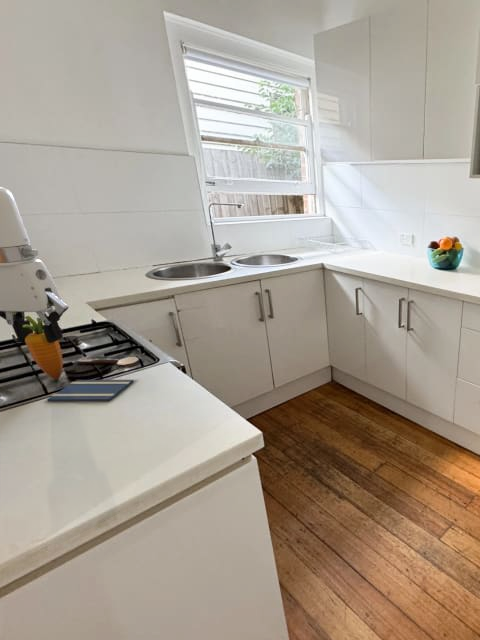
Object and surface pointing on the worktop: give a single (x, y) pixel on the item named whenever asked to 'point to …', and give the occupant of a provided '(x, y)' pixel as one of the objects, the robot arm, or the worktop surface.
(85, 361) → the wooden spoon
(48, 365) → the carrot
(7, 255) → the robot arm
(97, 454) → the worktop surface
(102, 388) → the dish cloth
